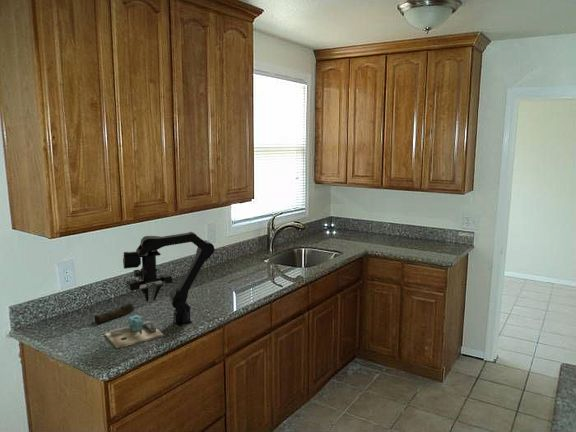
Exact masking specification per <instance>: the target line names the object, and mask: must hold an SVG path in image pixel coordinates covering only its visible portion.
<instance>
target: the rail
mask: <svg viewBox="0 0 576 432" xmlns="http://www.w3.org/2000/svg"><path fill="white" fill-rule="evenodd" d="M150 323H152V321H150V320H146V321H143V325H142V329H144V328H145V325H146V324H150ZM128 332H132V326H131V325H130V326H129V325H126V326H122V327H118V328H114V329H111V330H110V329H109V332H108V333H110V336H111V337H112V336H116V335H120V334H124V333H128Z"/></svg>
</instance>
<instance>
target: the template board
mask: <svg viewBox="0 0 576 432" xmlns="http://www.w3.org/2000/svg"><path fill="white" fill-rule="evenodd" d="M104 335H105V337H106V338H107V339H108V341H110V342H111V344H112V345H113V346H114V347H115V348H116V349H117V348H118V349H120V348H124V346H125V347H128V345H129V346H132V345H135V344H139V343H143V341H144V342H147V341H151V340H154V339H158V338H161V337H164V333H162V332H161V331H160V330H159V329H157V327H156V332H152V333H150V332H149V331H148V330H147V329H146V328H144V329H142V334H140V332H139V330H137V331H132V332H128V333H124V334H120V335H116V336H112V337H111V336H110V333H109V332H106V333H105V334H104Z"/></svg>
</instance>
